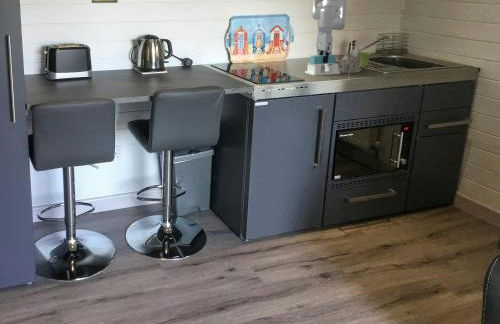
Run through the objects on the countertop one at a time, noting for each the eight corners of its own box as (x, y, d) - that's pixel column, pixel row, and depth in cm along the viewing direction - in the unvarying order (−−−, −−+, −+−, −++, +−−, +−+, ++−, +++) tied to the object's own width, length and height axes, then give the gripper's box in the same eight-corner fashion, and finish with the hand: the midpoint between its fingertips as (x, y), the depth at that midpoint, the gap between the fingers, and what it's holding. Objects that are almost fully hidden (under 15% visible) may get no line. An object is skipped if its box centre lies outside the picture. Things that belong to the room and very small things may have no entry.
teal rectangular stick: (310, 63, 335) (310, 55, 334) (332, 62, 342) (332, 54, 340) (314, 64, 332) (314, 56, 330) (335, 63, 338) (336, 55, 337)
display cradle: (304, 72, 339) (305, 62, 337) (330, 71, 347) (331, 61, 345) (313, 75, 331) (314, 65, 329) (340, 73, 338) (340, 63, 336)
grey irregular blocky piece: (351, 67, 361) (352, 43, 355) (365, 73, 347) (367, 48, 341) (329, 70, 356) (330, 45, 350) (342, 75, 341) (344, 50, 336)
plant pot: (351, 65, 368) (352, 52, 365) (364, 65, 371) (365, 51, 368) (359, 68, 360) (360, 54, 357) (372, 67, 363) (373, 53, 360)
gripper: (312, 28, 336) (310, 60, 342) (327, 31, 322) (325, 64, 328) (322, 28, 339) (320, 59, 345) (339, 31, 325) (336, 64, 331)
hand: (323, 61), depth 336 cm, fingers closed on teal rectangular stick, 4 cm apart
